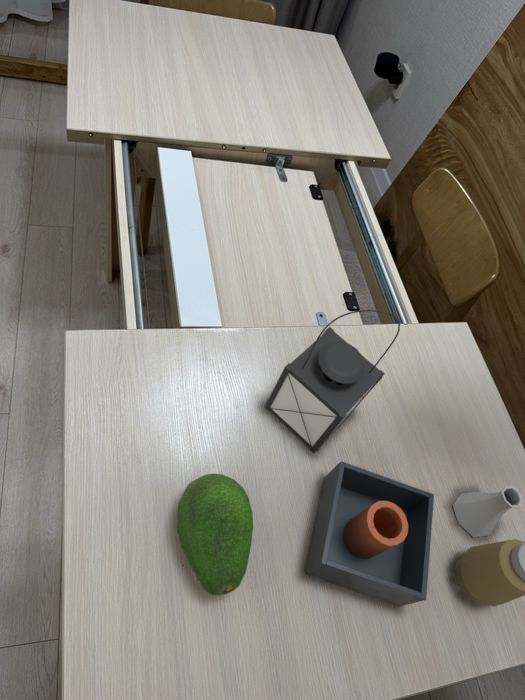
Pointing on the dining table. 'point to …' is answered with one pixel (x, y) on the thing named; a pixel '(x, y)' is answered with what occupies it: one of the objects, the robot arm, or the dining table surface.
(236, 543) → the fruit
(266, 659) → the dining table surface
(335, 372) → the lantern
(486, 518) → the flask
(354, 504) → the basin
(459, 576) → the squeeze bottle
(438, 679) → the dining table surface
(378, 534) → the jar
